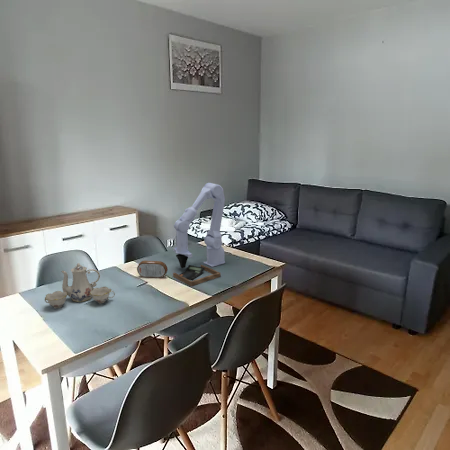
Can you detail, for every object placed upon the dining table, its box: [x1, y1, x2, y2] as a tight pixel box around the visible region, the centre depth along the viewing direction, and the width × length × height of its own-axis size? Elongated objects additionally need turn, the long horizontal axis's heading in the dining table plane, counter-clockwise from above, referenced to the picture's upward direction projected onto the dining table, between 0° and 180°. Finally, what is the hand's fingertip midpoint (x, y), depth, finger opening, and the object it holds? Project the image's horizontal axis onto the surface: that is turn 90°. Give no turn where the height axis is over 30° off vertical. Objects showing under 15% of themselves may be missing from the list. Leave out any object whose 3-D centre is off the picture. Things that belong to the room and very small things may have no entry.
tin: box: [136, 260, 168, 279], centre depth 183 cm, size 15×3×8 cm, turn 84°
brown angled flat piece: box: [172, 264, 222, 287], centre depth 184 cm, size 18×16×2 cm
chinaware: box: [44, 262, 116, 309], centre depth 157 cm, size 28×17×17 cm, turn 109°
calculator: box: [178, 264, 205, 281], centre depth 187 cm, size 9×12×3 cm
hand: (183, 267), depth 193 cm, fingers closed
